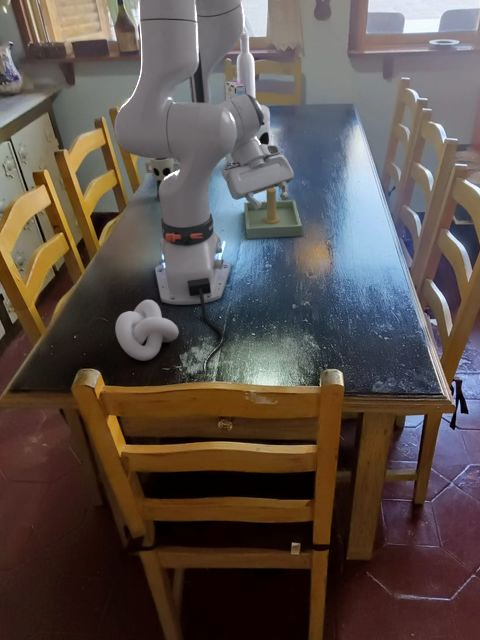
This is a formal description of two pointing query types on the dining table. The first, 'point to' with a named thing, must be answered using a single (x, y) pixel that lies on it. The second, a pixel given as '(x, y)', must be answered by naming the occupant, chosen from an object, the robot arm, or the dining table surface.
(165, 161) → the character mug
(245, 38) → the bottle
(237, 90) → the candy bar box
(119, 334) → the white trefoil knot
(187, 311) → the dining table surface
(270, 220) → the tray
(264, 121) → the milk container
